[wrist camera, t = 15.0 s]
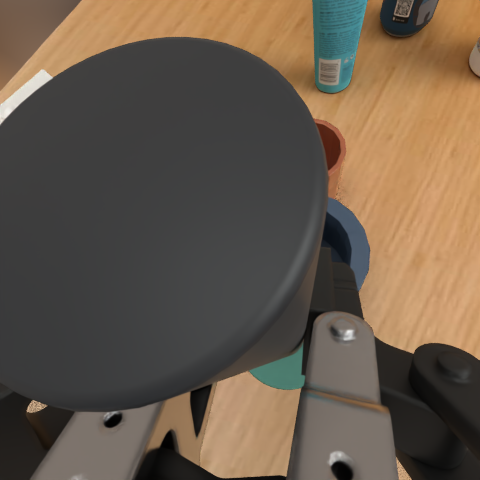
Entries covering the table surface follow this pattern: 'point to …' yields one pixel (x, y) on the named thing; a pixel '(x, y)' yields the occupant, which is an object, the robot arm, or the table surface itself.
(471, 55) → the bath foam
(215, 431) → the table surface
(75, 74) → the sponge wand
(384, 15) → the soda can
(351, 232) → the jar
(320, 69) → the tube
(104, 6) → the table surface
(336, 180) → the crock
